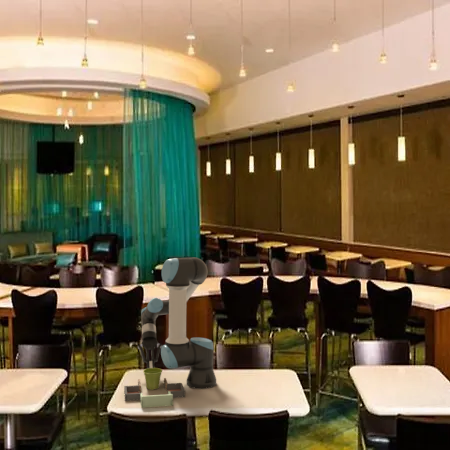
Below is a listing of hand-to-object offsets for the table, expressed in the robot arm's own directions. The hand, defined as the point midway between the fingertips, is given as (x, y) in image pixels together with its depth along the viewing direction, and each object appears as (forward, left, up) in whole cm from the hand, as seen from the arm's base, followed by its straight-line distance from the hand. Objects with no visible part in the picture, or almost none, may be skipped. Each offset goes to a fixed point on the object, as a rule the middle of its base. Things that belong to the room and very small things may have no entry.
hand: (151, 373), depth 287 cm
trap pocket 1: (+1, +22, -4) cm, 22 cm away
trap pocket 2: (-17, +13, -4) cm, 22 cm away
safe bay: (-13, +27, -4) cm, 30 cm away
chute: (-4, +9, -4) cm, 10 cm away
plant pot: (-4, +9, -4) cm, 10 cm away
